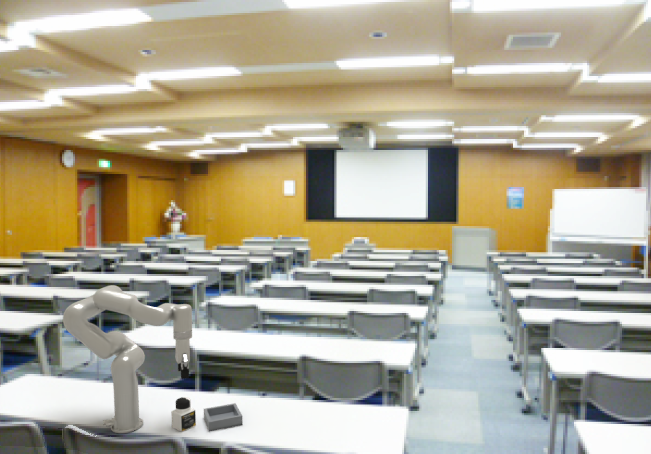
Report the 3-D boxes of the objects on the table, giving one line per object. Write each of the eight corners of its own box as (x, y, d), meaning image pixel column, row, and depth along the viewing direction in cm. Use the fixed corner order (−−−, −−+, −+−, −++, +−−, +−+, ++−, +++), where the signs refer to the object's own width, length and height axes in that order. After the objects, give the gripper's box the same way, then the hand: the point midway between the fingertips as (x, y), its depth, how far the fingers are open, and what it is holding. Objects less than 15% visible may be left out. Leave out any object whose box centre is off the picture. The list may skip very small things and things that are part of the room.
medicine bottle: (181, 432, 196) (181, 403, 195) (171, 427, 200) (170, 399, 200) (196, 425, 201) (195, 398, 201) (185, 421, 206) (184, 394, 205)
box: (208, 431, 196) (208, 422, 196) (203, 417, 209) (203, 408, 209) (242, 425, 201) (242, 415, 201) (235, 411, 214) (235, 403, 214)
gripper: (171, 330, 206) (172, 369, 207) (175, 340, 190) (176, 382, 191) (189, 328, 209) (189, 366, 210) (195, 338, 193) (195, 380, 194)
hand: (183, 374), depth 200 cm, fingers open, 9 cm apart
